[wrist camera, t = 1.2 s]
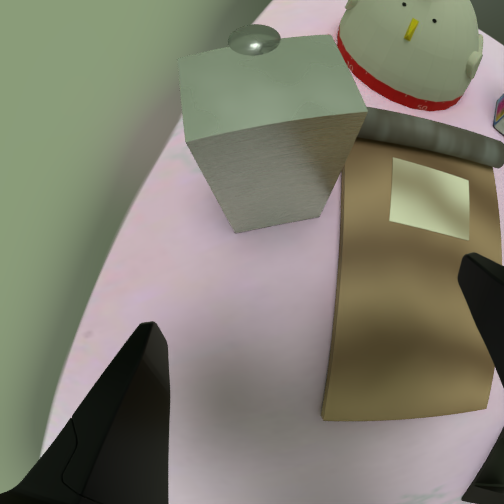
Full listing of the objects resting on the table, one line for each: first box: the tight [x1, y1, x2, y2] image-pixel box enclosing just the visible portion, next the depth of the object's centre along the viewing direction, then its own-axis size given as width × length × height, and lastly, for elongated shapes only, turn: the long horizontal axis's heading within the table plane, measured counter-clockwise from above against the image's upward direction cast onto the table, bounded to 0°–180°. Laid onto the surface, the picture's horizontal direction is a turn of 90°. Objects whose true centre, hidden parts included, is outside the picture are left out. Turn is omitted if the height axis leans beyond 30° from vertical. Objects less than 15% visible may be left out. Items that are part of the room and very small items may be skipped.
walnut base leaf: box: [321, 107, 504, 421], centre depth 19 cm, size 22×14×4 cm, turn 174°
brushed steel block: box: [177, 24, 368, 233], centre depth 16 cm, size 5×6×13 cm
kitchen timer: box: [337, 0, 483, 111], centre depth 17 cm, size 14×14×15 cm
